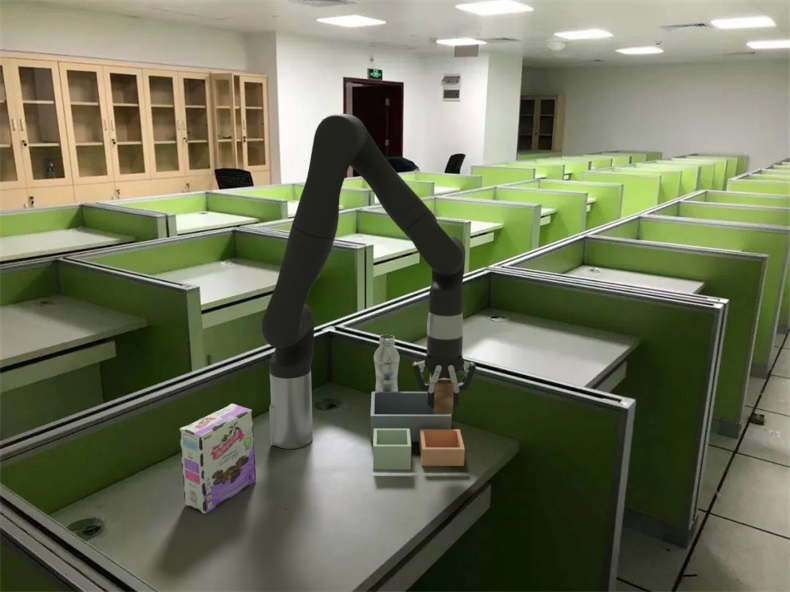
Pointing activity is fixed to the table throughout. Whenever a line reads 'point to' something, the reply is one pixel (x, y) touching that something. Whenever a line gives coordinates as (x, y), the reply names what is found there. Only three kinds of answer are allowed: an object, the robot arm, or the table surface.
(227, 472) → the candy box
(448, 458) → the peach square tray
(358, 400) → the table surface
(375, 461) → the pale green open box
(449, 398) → the walnut block
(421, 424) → the slate bin
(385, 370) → the plastic bottle
